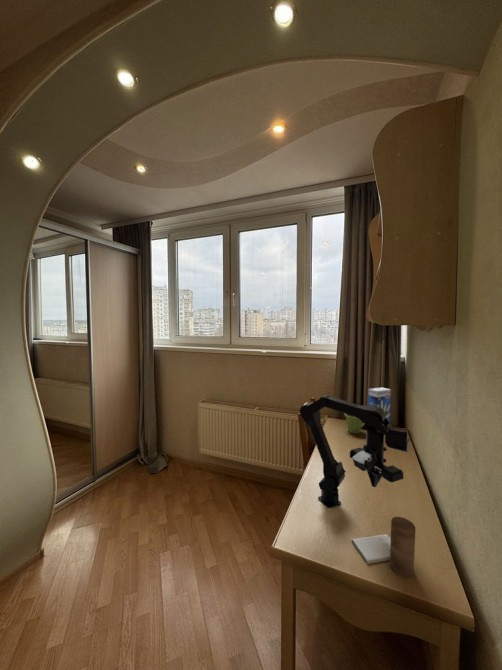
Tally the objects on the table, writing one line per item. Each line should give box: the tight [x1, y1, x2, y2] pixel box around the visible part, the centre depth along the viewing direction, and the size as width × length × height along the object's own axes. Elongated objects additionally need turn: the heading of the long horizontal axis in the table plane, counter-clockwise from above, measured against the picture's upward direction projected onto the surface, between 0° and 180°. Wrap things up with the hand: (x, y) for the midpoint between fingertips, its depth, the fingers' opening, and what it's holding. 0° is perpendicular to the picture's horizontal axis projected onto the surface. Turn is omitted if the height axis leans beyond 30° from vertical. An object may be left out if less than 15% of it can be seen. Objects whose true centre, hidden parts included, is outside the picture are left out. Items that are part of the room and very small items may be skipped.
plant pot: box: [344, 413, 363, 434], centre depth 175 cm, size 12×12×11 cm
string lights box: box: [367, 386, 392, 426], centre depth 184 cm, size 13×8×26 cm, turn 115°
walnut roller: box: [389, 516, 416, 579], centre depth 78 cm, size 6×6×13 cm
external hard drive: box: [351, 533, 391, 565], centre depth 84 cm, size 2×8×12 cm
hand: (374, 486), depth 97 cm, fingers closed
